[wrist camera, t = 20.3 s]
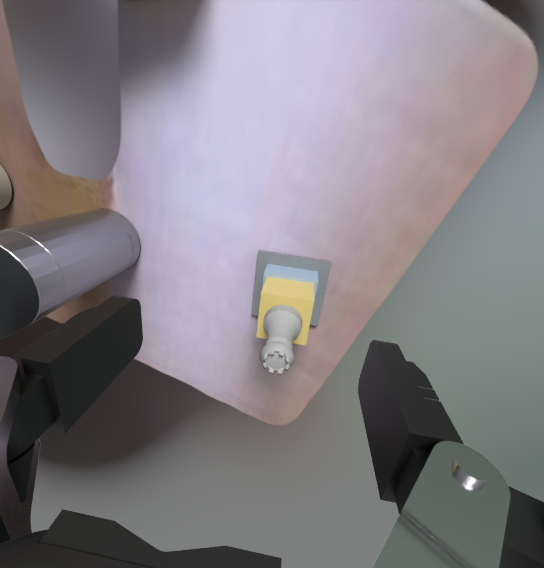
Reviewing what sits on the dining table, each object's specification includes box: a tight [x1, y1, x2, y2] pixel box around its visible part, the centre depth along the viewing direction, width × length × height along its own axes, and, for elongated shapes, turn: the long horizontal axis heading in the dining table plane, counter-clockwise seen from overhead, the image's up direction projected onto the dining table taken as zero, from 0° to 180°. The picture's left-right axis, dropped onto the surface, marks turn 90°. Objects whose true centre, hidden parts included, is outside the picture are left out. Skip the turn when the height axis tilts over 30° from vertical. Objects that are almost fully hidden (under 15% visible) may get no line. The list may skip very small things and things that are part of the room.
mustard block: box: [256, 277, 314, 345], centre depth 36 cm, size 6×6×5 cm
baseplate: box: [252, 250, 331, 326], centre depth 40 cm, size 10×10×4 cm
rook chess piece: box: [260, 305, 303, 375], centre depth 30 cm, size 4×4×8 cm
